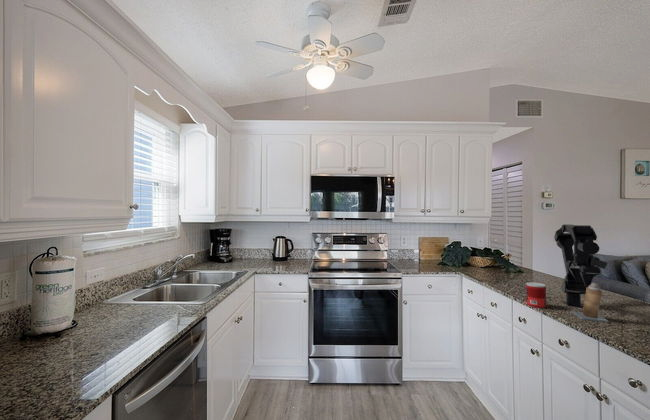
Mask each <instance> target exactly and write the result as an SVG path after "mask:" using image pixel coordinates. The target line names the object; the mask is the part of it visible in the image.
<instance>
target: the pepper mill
mask: <svg viewBox="0 0 650 420" xmlns="http://www.w3.org/2000/svg"><path fill="white" fill-rule="evenodd" d="M602 293H603V291H602V290H601V287H600V284H599V283H597V282H595V281H594V282H593V281H592V282H591V284H590V285H589V286H588V287H587V288H586V294H585V295H584V302H583V307H582V311H581V312H582V313H583V314H584V315H586V316H589V317H593V318H597V316H598V314H599V312H600V311H599V310H600V305H601V299H602Z"/></svg>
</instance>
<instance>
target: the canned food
mask: <svg viewBox="0 0 650 420" xmlns="http://www.w3.org/2000/svg"><path fill="white" fill-rule="evenodd" d="M525 289H526V295H525V296H526V305H527V306H529V307H532V308H537V309H544V308H546V307H547V285H546V284H544V283H539V282H533V281H532V282H530V281H529V282H526V284H525Z"/></svg>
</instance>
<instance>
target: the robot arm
mask: <svg viewBox="0 0 650 420" xmlns="http://www.w3.org/2000/svg"><path fill="white" fill-rule="evenodd" d="M553 238H554V239H553V240H554V242H556V243H555V244H556V246H558V248H560V249H561V254H562V258H563V263H564V268H565V276H564V278H563V281H562V282H561V283H562V284H561V286H560V287H561V288H560V290H561V292H563V293H565V300H563V301H562V302H563V303H564V304H565V305H566V306H569V307H570V306H571V307H579V308H583V306H584V304H582V295H584V296H585V294H586V288H587V287H588V286H589V285H591V283H593V279H594V278H595V277H596V276H599V275H600V274H602V269H603V270H606V269H607V266H608V264H609V263H608V262H606V261H604V260H601V259H600V258H599V257H597V256H594V255H595V254H597V253H599V252H600V246H599V244H597V243H596V242H594V241H598V240H597V239H598V236H597V234H596V232H595V230H594V228H593V227H592V226H591V225H590V224H589V225H579V224H578V225H577V224H576V225H575V224H562V225H561V227H560V228H559V229H557V230H556V231H555V233H554V237H553Z"/></svg>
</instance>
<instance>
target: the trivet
mask: <svg viewBox="0 0 650 420" xmlns="http://www.w3.org/2000/svg"><path fill="white" fill-rule="evenodd" d="M582 312H583V311H574V310H573V311H572V314H573V315H575V316H576V317H577V318H579V319H580V320H581V319H582V320H581V321H587V320H588V321H589V322H597V321H600V323H607V322H608V323H609V320H608V319H606V318H605V317H603V316H602V315H600V314H599V313H598V316H597V318H593V317H589V316H586V315H584V314H583V313H582Z"/></svg>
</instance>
